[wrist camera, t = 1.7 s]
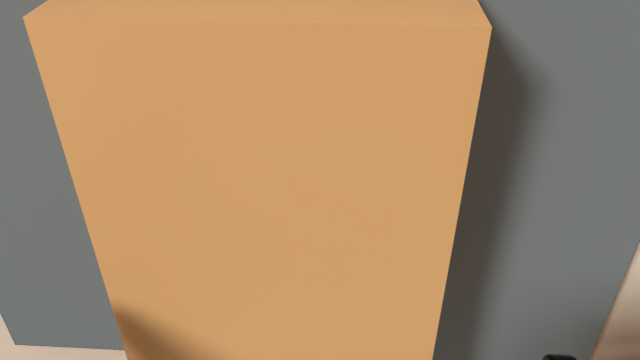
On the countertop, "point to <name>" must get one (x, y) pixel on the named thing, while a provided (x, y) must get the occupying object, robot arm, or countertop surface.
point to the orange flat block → (267, 167)
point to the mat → (475, 207)
